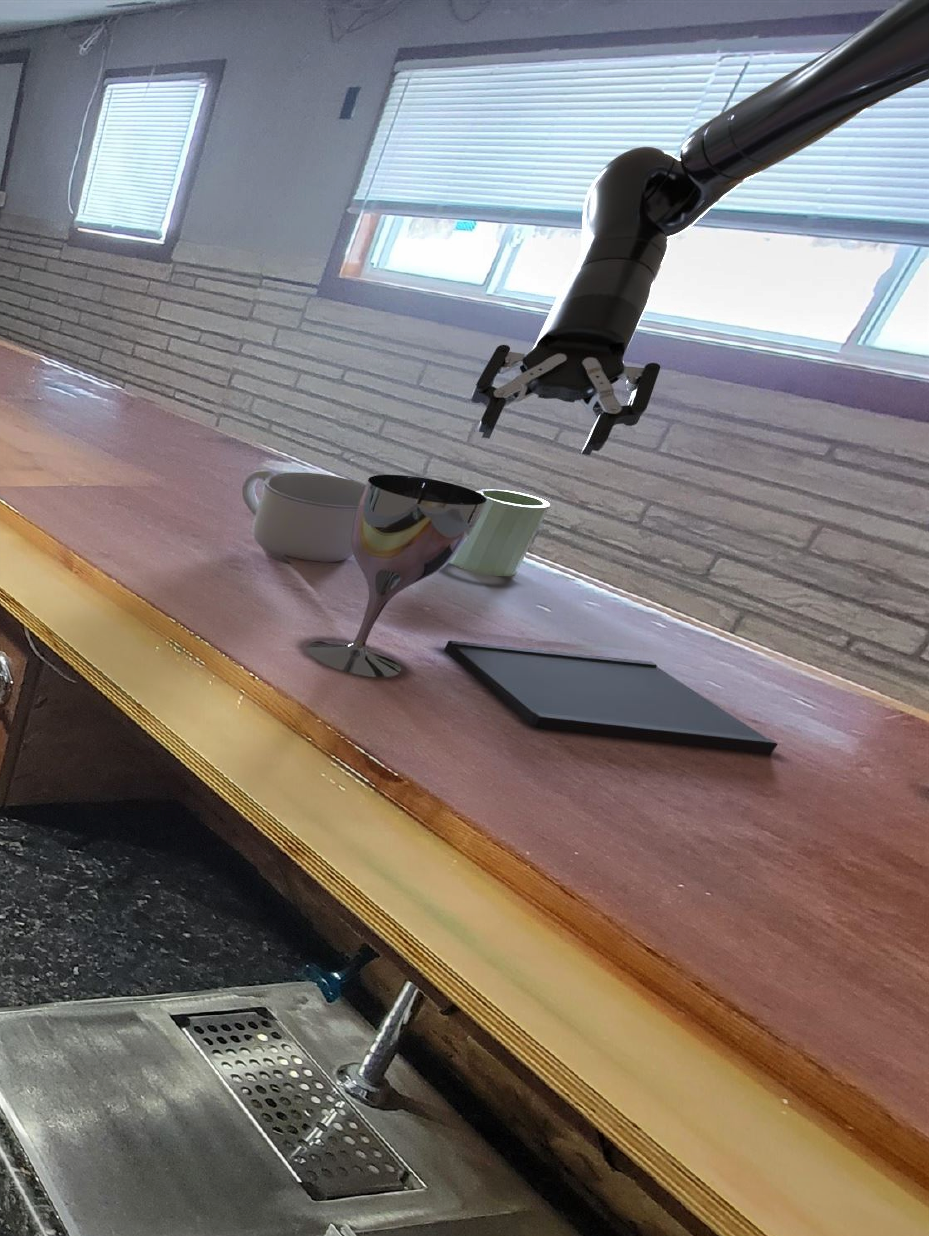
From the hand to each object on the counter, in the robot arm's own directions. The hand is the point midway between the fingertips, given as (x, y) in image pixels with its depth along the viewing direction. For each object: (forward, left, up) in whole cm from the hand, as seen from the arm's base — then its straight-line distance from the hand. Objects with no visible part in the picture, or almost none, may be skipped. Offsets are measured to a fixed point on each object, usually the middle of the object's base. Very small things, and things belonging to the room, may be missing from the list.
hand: (536, 442), depth 105 cm
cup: (+4, +7, -13) cm, 15 cm away
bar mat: (+9, +37, -13) cm, 40 cm away
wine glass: (+26, +34, -13) cm, 45 cm away
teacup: (+22, +6, -13) cm, 26 cm away
